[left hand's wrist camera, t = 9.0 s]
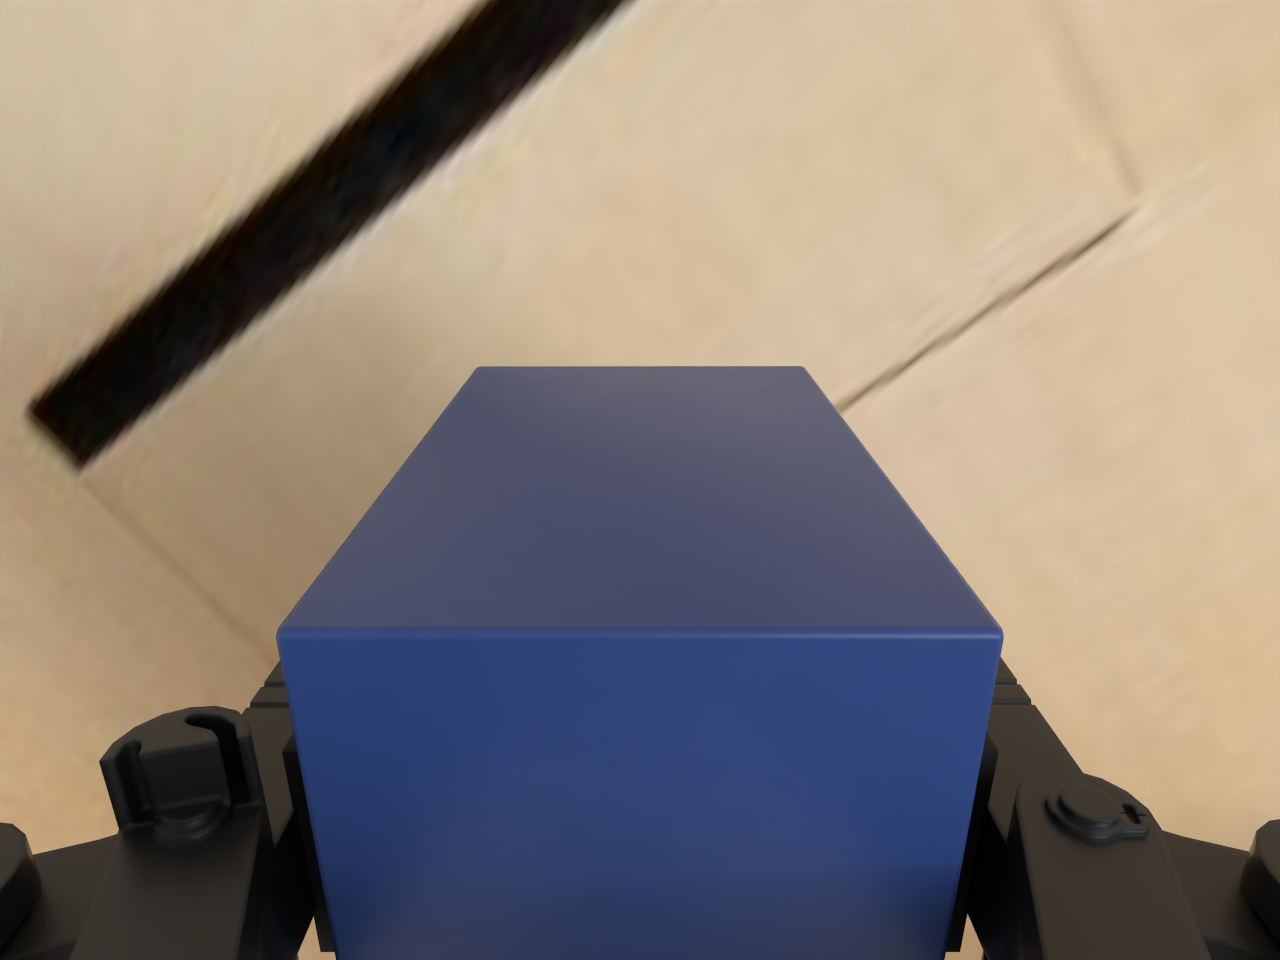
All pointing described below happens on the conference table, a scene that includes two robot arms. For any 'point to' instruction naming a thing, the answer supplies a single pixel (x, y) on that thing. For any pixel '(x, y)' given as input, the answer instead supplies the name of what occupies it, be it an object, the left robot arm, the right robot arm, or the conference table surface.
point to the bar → (640, 683)
